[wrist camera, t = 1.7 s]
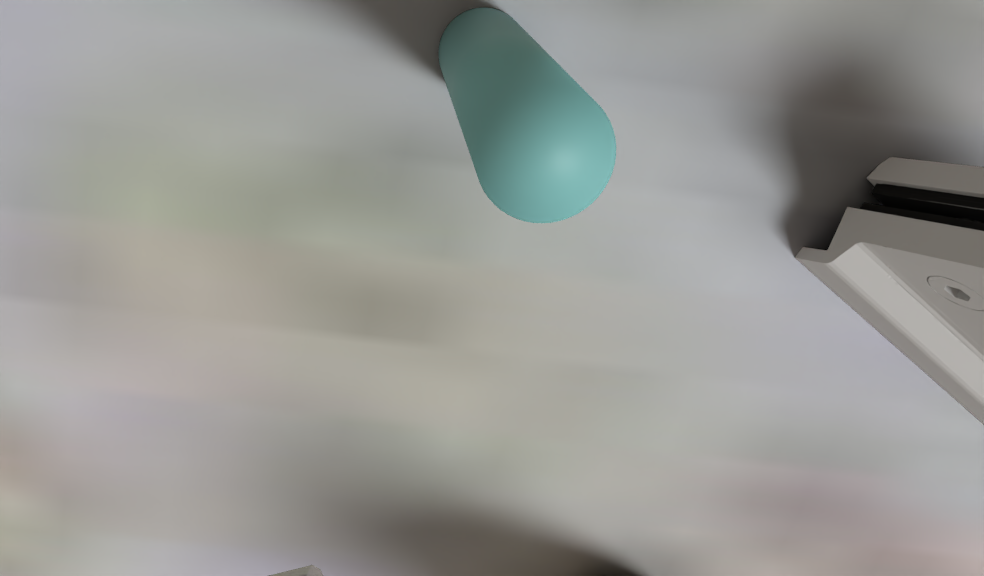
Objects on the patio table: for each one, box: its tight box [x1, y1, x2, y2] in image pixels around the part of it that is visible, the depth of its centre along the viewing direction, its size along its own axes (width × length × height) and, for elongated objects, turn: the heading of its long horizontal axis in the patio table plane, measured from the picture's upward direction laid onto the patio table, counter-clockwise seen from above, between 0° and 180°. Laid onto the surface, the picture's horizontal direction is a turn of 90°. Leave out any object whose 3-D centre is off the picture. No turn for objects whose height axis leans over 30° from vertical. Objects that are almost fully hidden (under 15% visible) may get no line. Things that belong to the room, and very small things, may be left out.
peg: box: [438, 7, 616, 223], centre depth 24 cm, size 3×3×12 cm
